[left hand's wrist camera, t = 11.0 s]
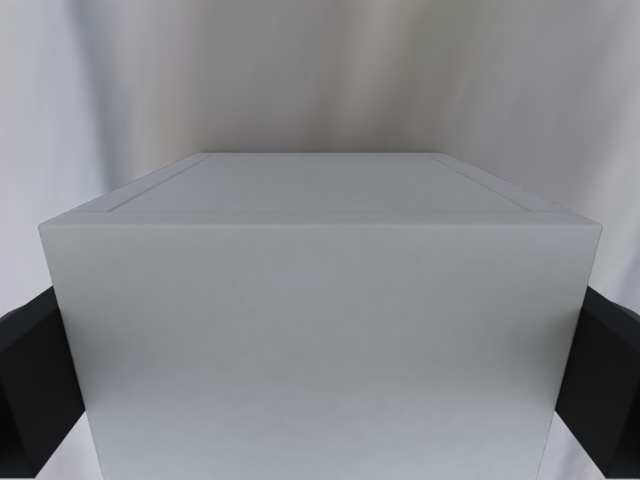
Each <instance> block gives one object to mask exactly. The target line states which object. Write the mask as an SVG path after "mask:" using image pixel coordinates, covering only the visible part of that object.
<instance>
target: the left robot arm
mask: <svg viewBox="0 0 640 480" xmlns="http://www.w3.org/2000/svg"><path fill="white" fill-rule="evenodd" d="M555 411H556V412H557V414H558V415H559V416H560V418H561V419H562V420H563V422H564V423H565V424H566V426H567V427H568V428H569V430H570V431H571V432H572V434H573V435H574V436H575V438H576V439H577V440H578V442H579V443H580V444H581V446H582V447H583V448H584V450H585V451H586V452H587V454H588V455H589V456H590V458H591V459H592V460H593V462H594V463H595V464H596V466H597V467H598V468H599V470H600V471H601V472H602V474H603V475H604V476H605V478H606V479H640V316H639V315H638V314H636V313H635V312H633V311H632V310H629V309H627V308H625V307H623V306H620V305H618V304H616V303H614V302H611V301H609V300H608V299H606V298H605V297H603V296H602V295H601V294H599V293H598V292H596V291H595V290H593V289H592V288H591V287H589V286H588V285H587V289H586V292H585V296H584V300H583V304H582V308H581V312H580V315H579V319H578V323H577V327H576V331H575V334H574V338H573V342H572V346H571V350H570V354H569V357H568V361H567V365H566V369H565V373H564V377H563V380H562V384H561V388H560V392H559V396H558V400H557V403H556V407H555ZM84 412H85V406H84V402H83V398H82V394H81V390H80V386H79V383H78V379H77V375H76V371H75V367H74V363H73V360H72V356H71V352H70V348H69V344H68V340H67V337H66V333H65V329H64V325H63V321H62V317H61V314H60V310H59V306H58V302H57V298H56V294H55V290H54V287H53V286H51V287H50V288H48V289H47V290H46V291H44V292H43V293H41V294H40V295H38V296H37V297H36V298H34V299H33V300H31V301H30V302H29V303H27V304H26V305H24V306H22V307H19V308H17V309H15V310H13V311H10V312H8V313H7V314H5V315H4V316H2V317H1V318H0V478H35V477H36V476H37V474H38V473H39V472H40V470H41V469H42V468H43V466H44V465H45V464H46V462H47V461H48V460H49V458H50V457H51V456H52V454H53V453H54V452H55V450H56V449H57V448H58V446H59V445H60V444H61V442H62V441H63V440H64V438H65V437H66V436H67V434H68V433H69V432H70V430H71V429H72V428H73V426H74V425H75V424H76V422H77V421H78V420H79V418H80V417H81V416H82V414H83V413H84Z"/></svg>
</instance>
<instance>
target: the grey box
mask: <svg viewBox="0 0 640 480" xmlns="http://www.w3.org/2000/svg"><path fill="white" fill-rule="evenodd" d="M38 229H39V233H40V237H41V241H42V244H43V248H44V252H45V256H46V260H47V264H48V267H49V271H50V275H51V279H52V283H53V287H54V290H55V294H56V298H57V302H58V306H59V310H60V314H61V317H62V321H63V325H64V329H65V333H66V337H67V340H68V344H69V348H70V352H71V356H72V360H73V363H74V367H75V371H76V375H77V379H78V383H79V386H80V390H81V394H82V398H83V402H84V406H85V410H86V413H87V417H88V421H89V425H90V429H91V433H92V436H93V440H94V444H95V448H96V452H97V456H98V459H99V463H100V467H101V471H102V475H103V479H104V480H537V476H538V472H539V468H540V465H541V461H542V457H543V453H544V449H545V445H546V442H547V438H548V434H549V430H550V426H551V422H552V419H553V415H554V411H555V407H556V403H557V400H558V396H559V392H560V388H561V384H562V380H563V377H564V373H565V369H566V365H567V361H568V357H569V354H570V350H571V346H572V342H573V338H574V334H575V331H576V327H577V323H578V319H579V315H580V312H581V308H582V304H583V300H584V296H585V292H586V289H587V285H588V281H589V277H590V273H591V269H592V266H593V262H594V258H595V254H596V250H597V247H598V243H599V239H600V235H601V231H602V225H601V224H599V223H597V222H595V221H593V220H590V219H588V218H586V217H584V216H582V215H579V214H577V213H575V212H574V211H572V210H570V209H568V208H565V207H563V206H561V205H559V204H557V203H554V202H552V201H550V200H548V199H545V198H543V197H541V196H539V195H537V194H534V193H532V192H530V191H528V190H525V189H523V188H521V187H519V186H517V185H514V184H512V183H510V182H508V181H505V180H503V179H501V178H499V177H497V176H494V175H492V174H490V173H488V172H486V171H483V170H481V169H479V168H477V167H474V166H472V165H470V164H468V163H466V162H463V161H461V160H459V159H457V158H454V157H452V156H449V155H447V154H445V153H195V154H193V155H191V156H188V157H186V158H184V159H182V160H180V161H177V162H175V163H173V164H171V165H169V166H166V167H164V168H162V169H160V170H158V171H155V172H153V173H151V174H149V175H147V176H144V177H142V178H140V179H138V180H136V181H133V182H131V183H129V184H127V185H125V186H122V187H120V188H118V189H116V190H114V191H111V192H109V193H107V194H105V195H103V196H100V197H98V198H96V199H94V200H92V201H89V202H87V203H85V204H83V205H81V206H78V207H76V208H74V209H72V210H70V211H68V212H65V213H63V214H61V215H59V216H57V217H54V218H52V219H50V220H48V221H46V222H43V223H41V224H39V227H38Z"/></svg>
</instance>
